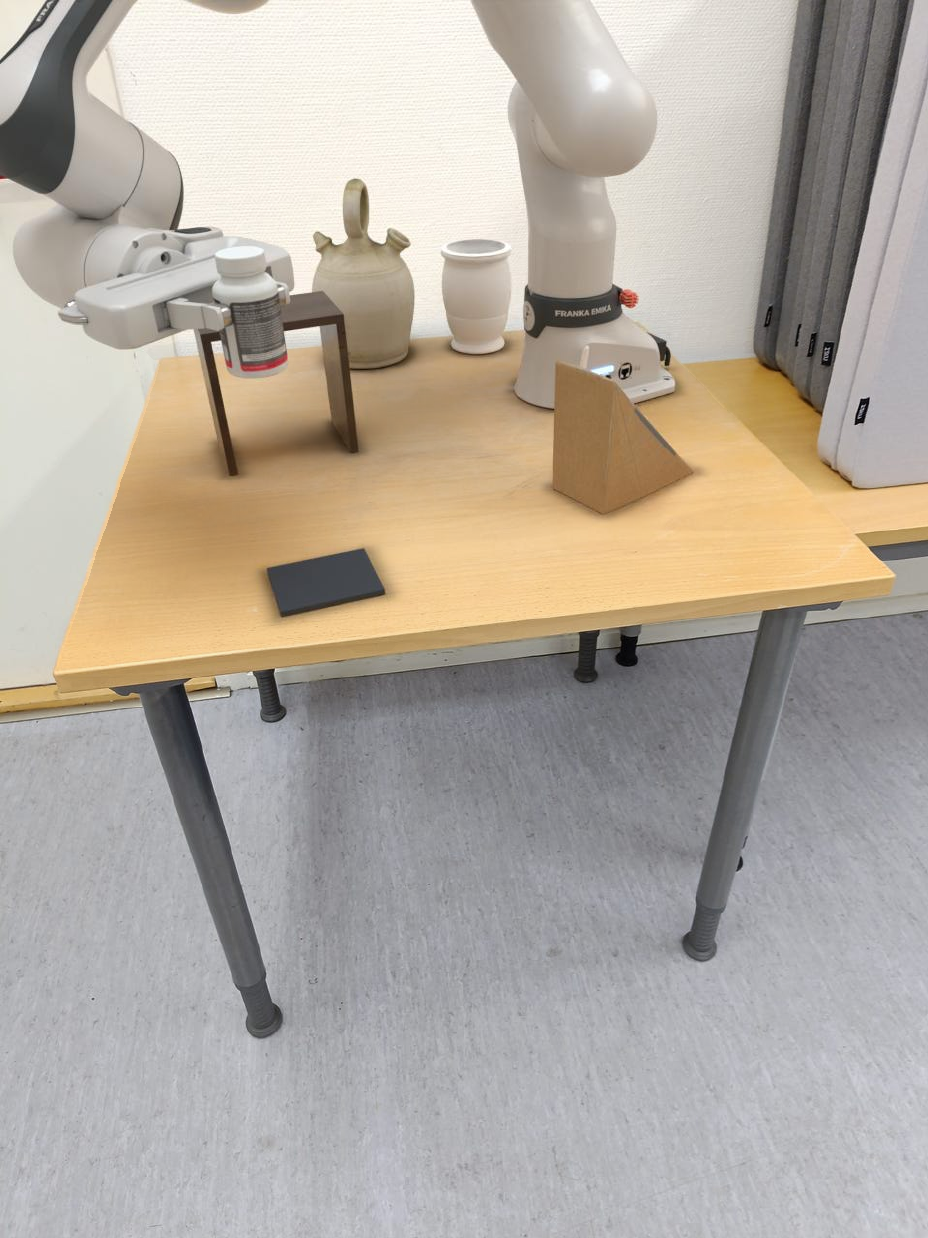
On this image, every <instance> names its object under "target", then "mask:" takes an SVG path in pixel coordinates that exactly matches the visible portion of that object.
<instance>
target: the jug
mask: <svg viewBox="0 0 928 1238" xmlns="http://www.w3.org/2000/svg"><path fill="white" fill-rule="evenodd" d="M342 220H343V228H344V231H345V234H346V236H347V238H346V239H345V240H344V242H343V243H340V244H334V243H333V238H331V237H330V236H326V235H325V234H323V233H322V232H320V231H315V232H314V233H313V235H312V238H313V242H314V244H315V251H316V252H317V253H319V254H320V260H319V262H318V264H317V266H316V269H315V271H314V274H313V277H312V284H311V292H318V291H324V293H325V294H326V295H327V296H328V297H329V298H330V299H331V300H332V302H333V303H334V304H335V305H336V306H337V307H338V308H339V309H340V311H341V312H342V313H343V314H344V321H345V322H344V323H345V330H346V339H347V348H348V357H349V367H350V369H352V370H354V369H355V370H363V369H364V370H367V369H369V370H371V369H380V368H384V367H389V366H393V365H395V364H398V363H400V362H401V361H403V360H404V359H405V358H406V357H407V356H408V353H409V346H410V341H411V332H412V326H413V320H414V312H415V285H414V279H413V276H412V273H411V271H410V269H409V267H408V265H407V263H406V262H405V260H404V259H403V257H402V256H401V253H402V252H403V251H405V250H406V249H407V248H409V247H411V245H412V243H411V241H410V239H409V238H408V237H407V236H406V235H405V234H403V233H402V232H401V231H399V230H397V229H396V228H392V227H390V228H388V229H387V230H386V237H385V242H383V243H381V242H377V241H375V240H373V239H372V238H371V237H370V235H369V231H368V230H369V226H370V225H369V224H370V197H369V191H368V186H367V184H366V182H364V181H363V180H362V179H361V178H355V177H354V178H352V179H349V180H348V181H347V182H346V183H345V186H344V190H343V194H342ZM318 327H319V328H320V326H318Z"/></svg>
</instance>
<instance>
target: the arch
mask: <svg viewBox="0 0 928 1238" xmlns="http://www.w3.org/2000/svg"><path fill="white" fill-rule="evenodd" d="M281 314H282V321H283V328H284V332H289V331H296V330H297V331H298V330H304V329H311V328H318V327H319V326H320V327H319V334H320V343H321V348H322V356H323V364H324V365H323V366H324V372H325V380H326V388H327V397H328V403H329V412H330V420H331V424H332V425H333V427H334V429H335V430H336V432H337V433H338V435H339V436H340V438H341V440H342V441H343V443H344V444H345V446H346V447H347V449H348V451H349V452H350V454H353V453H359V450H360V449H359V442H358V431H357V423H356V412H355V404H354V396H353V394H354V393H353V387H352V386H353V385H352V378H351V377H352V376H351V368H350V367H349V357H348V348H347V339H346V330H345V323H344V322H345V321H344V314H343V313H342V312H341V311H340V309H339V308H338V307H337V306H336V305H335V304H334V303H333V302H332V300H331V299H330V298H329V297H328V296H327V295H326V294H325V293H324V291H318V292H312V291H311V292H303V293H297V294H290V303H289V304H287V305H284V306H282V307H281ZM193 333H194V334H193V335H194V338H195V343H196V347H197V352H198V357H199V363H200V366H201V371H202V375H203V376H202V377H203V379H204V380H203V381H204V385H205V389H206V393H207V399H208V403H209V408H210V412H211V418H212V422H213V427H214V432H215V435H216V441H217V444H218V448H219V449H220V450H219V451H220V453H221V456H222V458H223V461H224V464H225V467H226V471H227V472H228V475H229V476H230V477H231V476H237V475H239V472H238V466H237V461H236V457H235V452H234V446H233V443H232V438H231V432H230V428H229V423H228V418H227V413H226V408H225V403H224V398H223V393H222V388H221V383H220V379H219V374H218V369H217V363H216V358H215V354H214V350H213V344H212V343H214V342H221V337H220V332H219V331H216V330H212V329H208V328H204V329H193Z"/></svg>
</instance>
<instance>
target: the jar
mask: <svg viewBox="0 0 928 1238" xmlns="http://www.w3.org/2000/svg"><path fill="white" fill-rule="evenodd" d="M511 253H512V244H510V243H509V242H506V241H503V240H498V239H489V238H470V239H469V238H468V239H459V240H454V241H450V242H447V243H445V244H443V245H442V246H441V247H440V255H441V257H442V258H443V259H444V262H443V266H442V273H441V274H442V275H441V293H442V301H443V306H444V310H445V317H446V322H447V326H448V327H449V330H450V332H451V334H452V336H453V338H452V339H451V342H450V346H451V348H452V349H453V350H454V351H456V352H459V353H463V354H468V355H485V354H491V353H495V352H498V351H500V350H501V349H503V348H504V346H505V340H504V338H503V337H502V335H503V333H504V332H505V331H504V330H505V328H506V326H507V322H508V317H509V316H508V315H509V309H510V305H511V298H512V275H511V267H510V263H509V259H508V258H509V256H511Z"/></svg>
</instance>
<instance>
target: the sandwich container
mask: <svg viewBox="0 0 928 1238" xmlns="http://www.w3.org/2000/svg"><path fill="white" fill-rule="evenodd" d="M552 440H553V441H552V442H553V445H552V489H554V490H555V491H557V492H559V493H561V494H563V495H565V496H566V497H569V498H571V499H572V500H575V501H577V502H578V503H580V504H582V505H584V506H586V507H588V508H589V509H592V510H594V511H596V512H598V513H600V514H602V515H605V514H608V513H610V512H613V511H615V510H617V509H619V508H622V507H624V506H626V505H628V504H631V503H632V502H636V501H638V500H639V499H642V498H644V497H647V496H649V495H650V494H652V493H655V492H656V491H659V490H660V489H662V488H664V487H667V486H668V485H670V484H672V483H675V482H676V481H679V480H680V479H683V478H685V477H687V476H689V475H691V474H693V473H695V471H694V470H693V469H692V467H691V466H689V465H688V463H687V462H686V461H685V460H684V459H683V457H681V455H680V454H678V453H677V451H676V450H675V449H674V448H673V447H672V445H670V443H668V441H667V440H666V439H665V438H664V437H663V436H662V434H661V433H660V432H659V431H658V430H657V429H656V428H655V426H654V425H653V424H652V423H651V422H650V421H649V420H648V418H646V417H645V416H644V414H643V413H642V412H641V411H640V410H639V408H638V407H637V406H636V405H635V403H634V404H633V402H632V401H631V400H630V399H629V398H628V396H627V395H626V394H625V393H624V392H623V390H622V389H621V388H620V387H619V386H618V384H617V383H616V382H615V381H614V380H612V379H609V378H607V377H605V376H602V375H600V374H597V373H595V372H593V371H590V370H588V369H585V368H582V367H579V366H575V365H572V364H569V363H566V362H563V361H559V360H558V361H557V362H556V365H555V401H554V409H553V439H552Z"/></svg>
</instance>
